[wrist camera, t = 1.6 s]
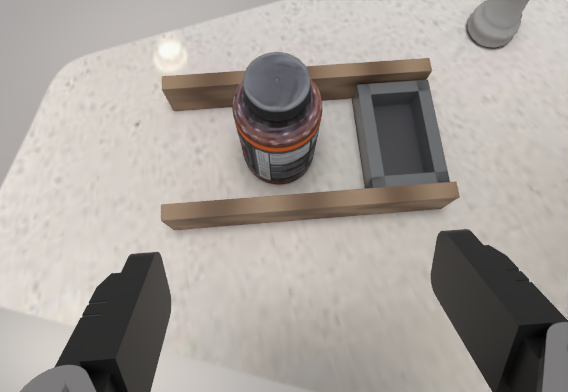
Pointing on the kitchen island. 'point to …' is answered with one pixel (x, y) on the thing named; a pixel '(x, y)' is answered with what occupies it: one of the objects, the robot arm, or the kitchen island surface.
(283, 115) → the supplement bottle
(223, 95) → the walnut channel
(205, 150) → the kitchen island surface
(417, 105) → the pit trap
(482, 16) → the rook chess piece
